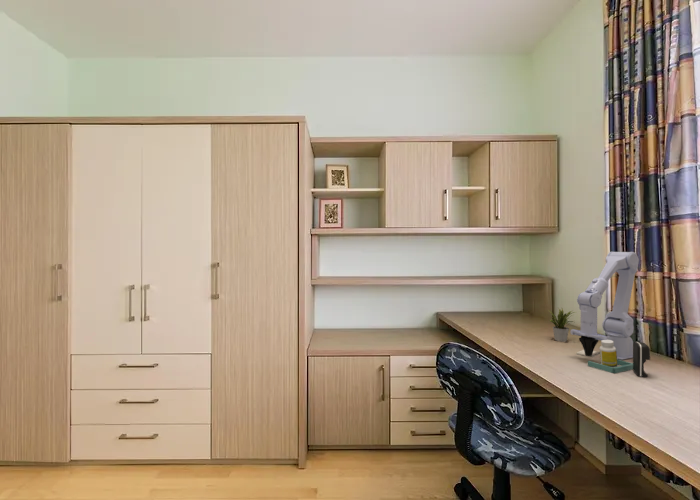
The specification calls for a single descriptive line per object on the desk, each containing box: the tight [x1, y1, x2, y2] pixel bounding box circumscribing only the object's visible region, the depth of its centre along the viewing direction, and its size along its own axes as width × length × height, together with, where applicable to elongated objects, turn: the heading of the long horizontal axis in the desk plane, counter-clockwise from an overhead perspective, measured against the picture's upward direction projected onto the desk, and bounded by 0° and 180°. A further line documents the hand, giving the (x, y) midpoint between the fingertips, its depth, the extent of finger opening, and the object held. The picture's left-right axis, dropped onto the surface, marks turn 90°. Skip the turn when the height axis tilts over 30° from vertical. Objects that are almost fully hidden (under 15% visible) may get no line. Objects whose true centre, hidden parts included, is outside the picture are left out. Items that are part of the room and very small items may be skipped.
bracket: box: [587, 359, 633, 374], centre depth 149 cm, size 13×10×2 cm
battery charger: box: [632, 341, 651, 378], centre depth 141 cm, size 7×4×11 cm, turn 157°
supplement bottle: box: [599, 340, 618, 368], centre depth 149 cm, size 5×5×10 cm
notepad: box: [575, 349, 600, 358], centre depth 168 cm, size 9×6×1 cm, turn 129°
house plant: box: [547, 307, 576, 342], centre depth 191 cm, size 14×14×16 cm
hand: (588, 355), depth 158 cm, fingers closed
